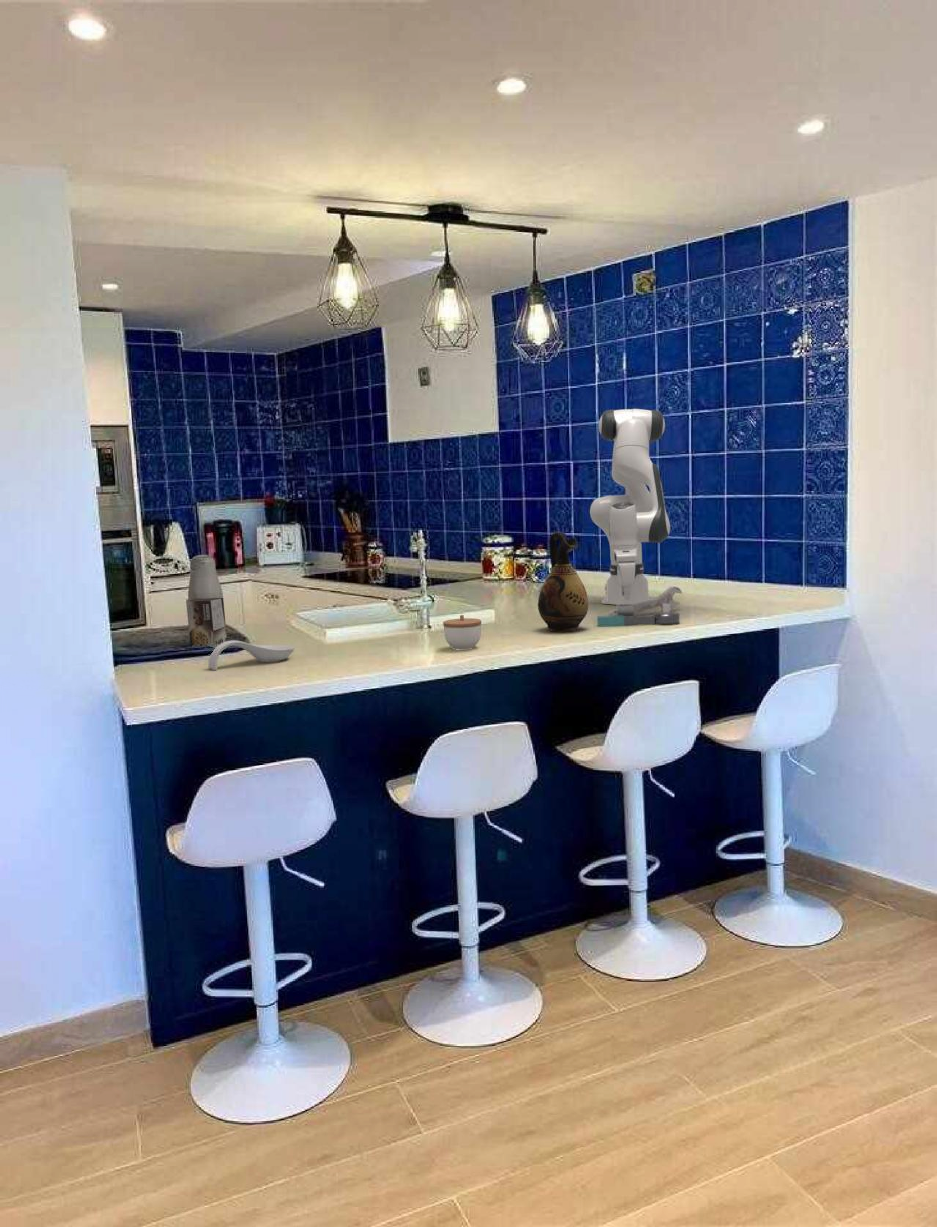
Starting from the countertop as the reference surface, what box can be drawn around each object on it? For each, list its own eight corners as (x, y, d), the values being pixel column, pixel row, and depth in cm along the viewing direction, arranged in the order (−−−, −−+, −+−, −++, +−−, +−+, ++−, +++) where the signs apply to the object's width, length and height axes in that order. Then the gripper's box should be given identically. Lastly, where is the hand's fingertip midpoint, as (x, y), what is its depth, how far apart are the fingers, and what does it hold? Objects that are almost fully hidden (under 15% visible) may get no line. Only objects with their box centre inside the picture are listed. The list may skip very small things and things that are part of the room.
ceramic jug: (599, 629, 291) (596, 530, 287) (556, 635, 284) (553, 534, 280) (567, 623, 306) (564, 529, 302) (526, 629, 299) (522, 532, 295)
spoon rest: (283, 655, 274) (281, 630, 273) (302, 660, 265) (300, 634, 264) (203, 668, 260) (201, 642, 259) (220, 673, 251) (217, 646, 250)
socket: (616, 620, 309) (616, 604, 308) (632, 619, 308) (632, 604, 308) (617, 622, 304) (617, 606, 303) (633, 621, 303) (633, 606, 303)
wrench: (609, 628, 313) (680, 607, 326) (613, 628, 311) (684, 608, 325) (606, 604, 311) (677, 584, 325) (610, 604, 310) (681, 585, 323)
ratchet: (597, 623, 303) (596, 604, 302) (677, 620, 301) (677, 601, 300) (598, 627, 295) (597, 608, 294) (681, 624, 293) (680, 605, 292)
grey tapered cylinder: (201, 641, 307) (193, 553, 303) (231, 640, 305) (224, 552, 302) (187, 646, 298) (179, 556, 294) (218, 646, 296) (210, 555, 292)
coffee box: (229, 651, 285) (224, 597, 283) (215, 655, 279) (210, 600, 277) (203, 650, 288) (199, 597, 286) (190, 654, 282) (185, 600, 280)
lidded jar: (485, 644, 274) (483, 612, 273) (478, 651, 264) (477, 617, 263) (448, 645, 276) (447, 613, 275) (440, 651, 266) (439, 618, 265)
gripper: (612, 553, 313) (613, 595, 315) (616, 556, 293) (618, 601, 295) (631, 552, 313) (633, 594, 314) (637, 555, 293) (639, 600, 294)
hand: (626, 597), depth 304 cm, fingers open, 8 cm apart
